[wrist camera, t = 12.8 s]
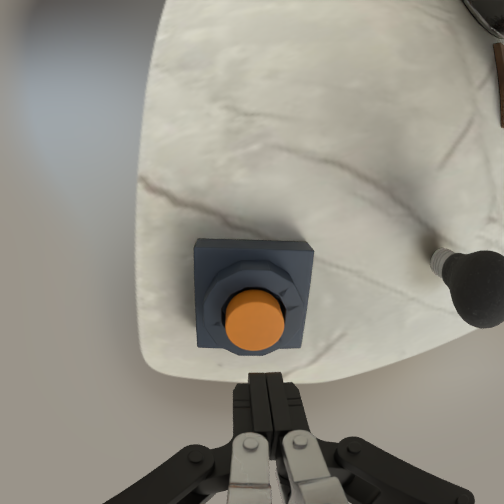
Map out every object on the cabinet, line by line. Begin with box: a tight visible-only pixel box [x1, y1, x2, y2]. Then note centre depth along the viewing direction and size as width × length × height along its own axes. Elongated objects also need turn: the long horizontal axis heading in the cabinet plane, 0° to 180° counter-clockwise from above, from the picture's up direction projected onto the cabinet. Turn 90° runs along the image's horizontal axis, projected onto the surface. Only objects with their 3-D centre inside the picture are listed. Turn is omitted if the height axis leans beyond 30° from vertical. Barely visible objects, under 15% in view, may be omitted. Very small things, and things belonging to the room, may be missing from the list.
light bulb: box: [430, 248, 504, 328], centre depth 18 cm, size 6×6×10 cm
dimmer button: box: [225, 289, 284, 351], centre depth 18 cm, size 4×4×2 cm
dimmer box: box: [194, 239, 314, 356], centre depth 21 cm, size 8×8×4 cm
